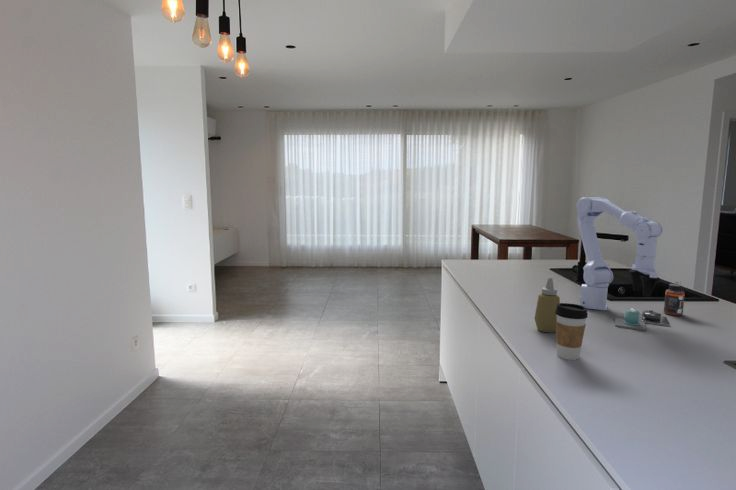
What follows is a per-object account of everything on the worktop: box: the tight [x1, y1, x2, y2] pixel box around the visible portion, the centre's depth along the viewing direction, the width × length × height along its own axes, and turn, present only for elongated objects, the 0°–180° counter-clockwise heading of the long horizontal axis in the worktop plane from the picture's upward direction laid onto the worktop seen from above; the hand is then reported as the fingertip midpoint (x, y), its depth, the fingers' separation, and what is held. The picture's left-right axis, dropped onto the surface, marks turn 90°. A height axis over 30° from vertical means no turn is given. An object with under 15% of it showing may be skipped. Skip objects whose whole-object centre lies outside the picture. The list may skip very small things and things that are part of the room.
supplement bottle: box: [663, 283, 686, 317], centre depth 162 cm, size 6×6×11 cm
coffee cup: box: [555, 302, 589, 361], centre depth 123 cm, size 8×8×15 cm
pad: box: [614, 317, 647, 332], centre depth 150 cm, size 9×9×1 cm
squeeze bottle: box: [534, 277, 561, 333], centre depth 143 cm, size 8×8×18 cm
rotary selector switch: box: [639, 309, 670, 327], centre depth 155 cm, size 10×10×3 cm
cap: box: [624, 307, 640, 326], centre depth 150 cm, size 5×5×5 cm
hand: (641, 293), depth 153 cm, fingers open, 7 cm apart
